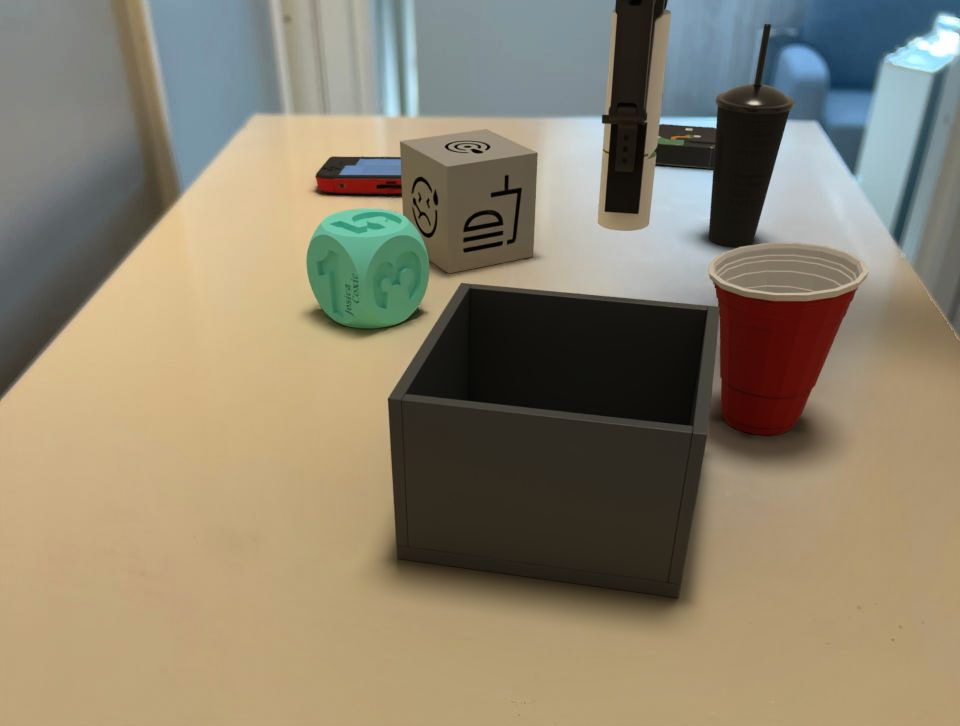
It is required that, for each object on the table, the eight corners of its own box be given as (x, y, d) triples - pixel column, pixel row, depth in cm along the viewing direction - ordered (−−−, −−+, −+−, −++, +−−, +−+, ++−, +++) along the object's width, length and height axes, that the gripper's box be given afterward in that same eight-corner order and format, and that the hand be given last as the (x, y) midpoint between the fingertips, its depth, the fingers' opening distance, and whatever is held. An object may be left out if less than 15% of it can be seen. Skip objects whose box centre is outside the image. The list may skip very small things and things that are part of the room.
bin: (695, 453, 72) (720, 306, 65) (678, 598, 59) (707, 434, 52) (461, 426, 75) (460, 282, 68) (396, 558, 62) (387, 398, 55)
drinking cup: (752, 256, 103) (794, 35, 90) (684, 242, 106) (715, 26, 93) (777, 235, 108) (819, 22, 95) (711, 223, 111) (743, 14, 98)
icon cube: (533, 256, 103) (537, 152, 96) (448, 273, 99) (447, 166, 92) (485, 228, 109) (486, 128, 103) (404, 243, 105) (399, 141, 99)
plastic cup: (700, 376, 82) (725, 227, 74) (835, 399, 79) (875, 246, 71) (670, 436, 74) (694, 276, 66) (818, 464, 71) (861, 301, 63)
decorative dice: (309, 311, 91) (300, 221, 86) (375, 288, 96) (370, 201, 91) (365, 337, 87) (359, 244, 82) (432, 312, 92) (430, 222, 86)
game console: (442, 167, 127) (441, 148, 125) (434, 198, 117) (434, 178, 116) (330, 164, 127) (328, 146, 126) (313, 195, 118) (311, 175, 116)
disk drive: (734, 151, 134) (625, 142, 136) (738, 128, 132) (627, 119, 135) (732, 172, 126) (616, 162, 129) (736, 149, 125) (619, 139, 127)
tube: (619, 234, 80) (638, 18, 71) (587, 220, 83) (600, 10, 73) (659, 224, 82) (683, 12, 72) (626, 211, 85) (644, 5, 75)
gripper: (615, -167, 73) (593, 169, 89) (582, -159, 61) (563, 233, 76) (718, -167, 72) (678, 174, 87) (707, -159, 59) (662, 240, 74)
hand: (625, 201), depth 81 cm, fingers closed on tube, 4 cm apart
